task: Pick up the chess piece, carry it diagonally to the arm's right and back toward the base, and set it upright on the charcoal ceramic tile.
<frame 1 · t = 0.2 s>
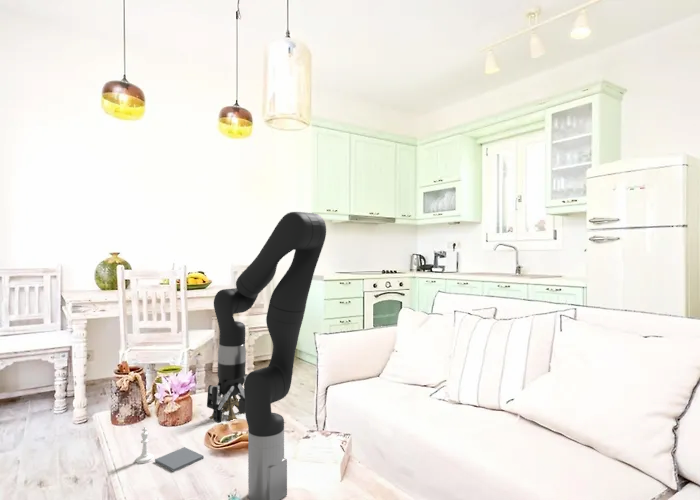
hand: (230, 417, 123), 17 cm above the table, tool pointing down, fingers open, 8 cm apart
chess piece: (144, 460, 134), on the table
slate tile: (179, 460, 134), on the table
eiffel tower: (229, 415, 170), on the table
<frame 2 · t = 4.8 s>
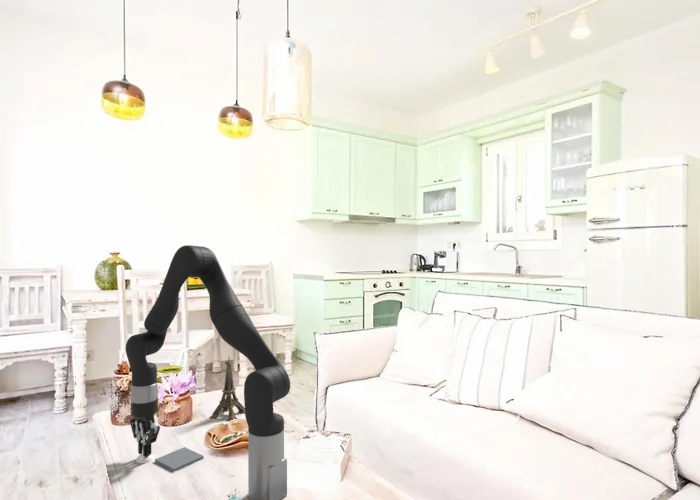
hand: (144, 454, 134), 2 cm above the table, tool pointing down, fingers closed on chess piece, 2 cm apart
chess piece: (144, 460, 134), on the table, touching gripper
everything else where it was.
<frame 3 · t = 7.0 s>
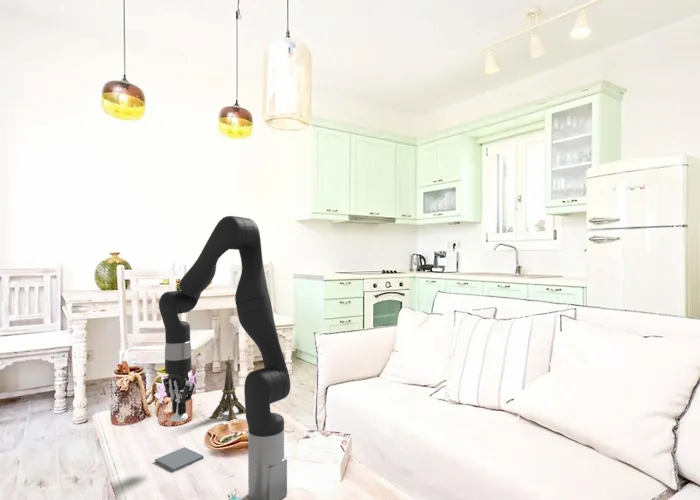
hand: (178, 413, 133), 15 cm above the table, tool pointing down, fingers closed on chess piece, 2 cm apart
chess piece: (179, 419, 133), point 13 cm above the table, touching gripper
everything else where it was.
when the fingers open (3 cm above the table, at t = 9.5 s): chess piece stays where it is, resting on slate tile.
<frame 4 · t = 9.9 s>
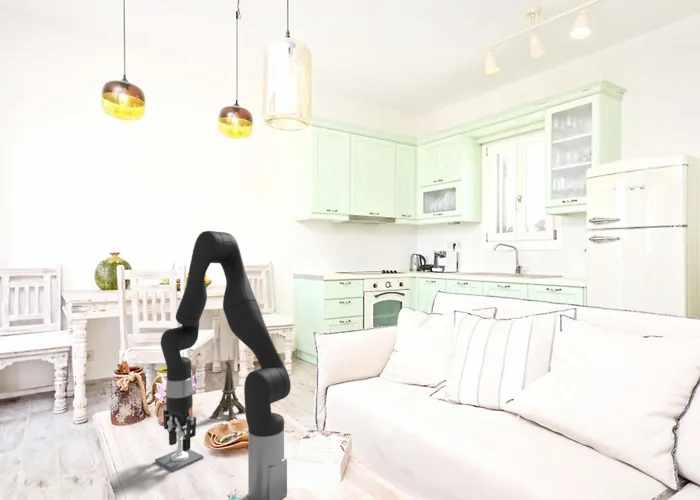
hand: (179, 447, 134), 4 cm above the table, tool pointing down, fingers open, 6 cm apart
chess piece: (179, 458, 133), point 1 cm above the table, touching slate tile
everything else where it was.
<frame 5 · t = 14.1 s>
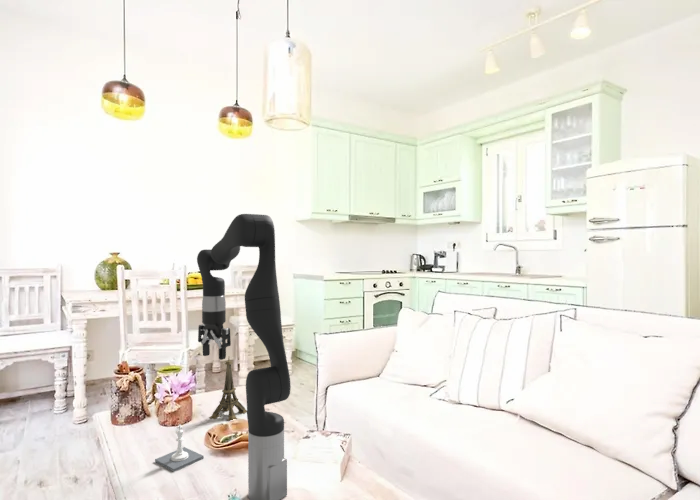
hand: (214, 357, 147), 28 cm above the table, tool pointing down, fingers open, 8 cm apart
nothing on the table moved.
at the end: chess piece inside the target area on the slate tile (0.2 cm from its centre), point 0.6 cm above the slate tile's base; chess piece tilted 0°; the gripper is holding nothing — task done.
